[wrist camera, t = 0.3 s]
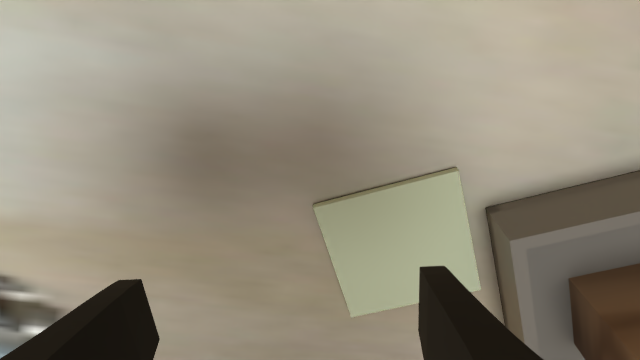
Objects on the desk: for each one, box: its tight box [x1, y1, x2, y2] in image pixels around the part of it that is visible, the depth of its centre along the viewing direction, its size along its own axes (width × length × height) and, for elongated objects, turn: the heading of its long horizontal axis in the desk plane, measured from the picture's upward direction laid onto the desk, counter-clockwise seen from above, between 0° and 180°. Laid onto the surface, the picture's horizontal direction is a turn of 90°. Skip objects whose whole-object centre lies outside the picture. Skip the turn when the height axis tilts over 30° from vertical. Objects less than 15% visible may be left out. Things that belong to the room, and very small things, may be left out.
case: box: [486, 171, 640, 360], centre depth 20 cm, size 14×11×3 cm
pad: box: [313, 168, 481, 317], centre depth 21 cm, size 7×7×1 cm
